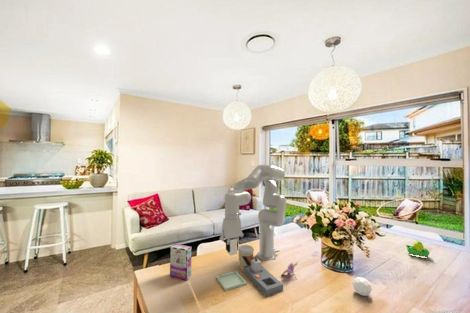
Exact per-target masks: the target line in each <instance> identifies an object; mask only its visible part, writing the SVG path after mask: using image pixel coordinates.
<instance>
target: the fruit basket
mask: <svg viewBox="0 0 470 313" xmlns="http://www.w3.org/2000/svg"><path fill="white" fill-rule="evenodd" d="M405 247H406V250H407V253H408V252H409V253H408V255H409V254H413V255H419V256H425V257H429V255H430V253H431V252H430V251H429V250H428V248H424V245H423V243H422V242H421V241H419V240H418V241H415V242H414V243H413V244H412V245H408V244H407V245H405Z"/></svg>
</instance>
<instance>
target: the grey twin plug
mask: <svg viewBox="0 0 470 313" xmlns="http://www.w3.org/2000/svg"><path fill="white" fill-rule="evenodd" d="M261 266H262V261H261V259H260V260H259V257H258V256H256V257H255V258H253V260H251V271H252V272H253V273H254V274H255V273H259V272H261Z"/></svg>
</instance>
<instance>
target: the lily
mask: <svg viewBox="0 0 470 313" xmlns="http://www.w3.org/2000/svg"><path fill="white" fill-rule="evenodd" d="M298 263H299V261H297V262H296V263H292V262H291V263H290V264H289V265H288V266H287V269H285V270H284V271H283V272H282V273H281V276H283V275H285V274H286V273H287V274H293V276H294V278H295V280H297V276H296V275H295V273H294V272H295V267H296V266H297V265H298Z"/></svg>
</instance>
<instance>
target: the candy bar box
mask: <svg viewBox="0 0 470 313" xmlns="http://www.w3.org/2000/svg"><path fill="white" fill-rule="evenodd" d="M169 248H170V250H169V251H170V252H169V253H170V254H169V260H170V262H169V277H171V278H175V279H179V280H183V281H188V280H189V278H190V277H191V276H192V250H193V249H192V248H193V247H192V246H190V245H189V246H188V245H184V244H177V243H176V244H173V245H172V246H170V247H169Z"/></svg>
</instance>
